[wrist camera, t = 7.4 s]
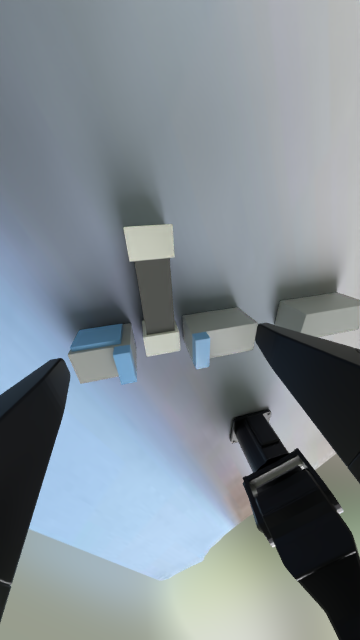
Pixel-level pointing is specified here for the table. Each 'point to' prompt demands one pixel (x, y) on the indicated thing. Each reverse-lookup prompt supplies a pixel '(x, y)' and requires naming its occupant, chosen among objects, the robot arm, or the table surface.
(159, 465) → the table surface
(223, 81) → the table surface
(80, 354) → the grey block row
